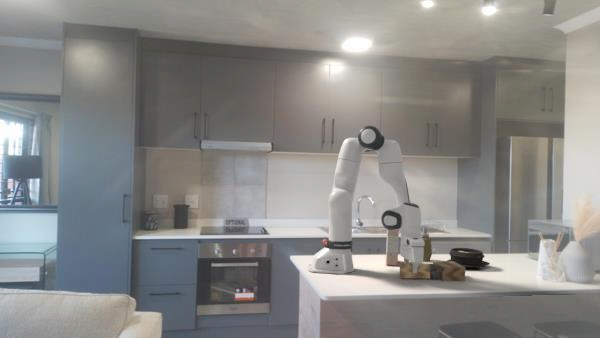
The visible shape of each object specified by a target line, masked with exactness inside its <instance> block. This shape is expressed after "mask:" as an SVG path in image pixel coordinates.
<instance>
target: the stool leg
mask: <svg viewBox="0 0 600 338" xmlns="http://www.w3.org/2000/svg"><path fill="white" fill-rule="evenodd" d="M412 268H413V263H412V262H409V263H405V262H401V263H399V278H400V279H430V269H432V270H437V264H433V263H422V264H418V268H417V273H413V272H412Z"/></svg>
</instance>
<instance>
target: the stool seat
mask: <svg viewBox="0 0 600 338" xmlns="http://www.w3.org/2000/svg"><path fill="white" fill-rule="evenodd" d="M432 264H437V270H432V269H430V278H429V279H430V280H434V281H437V280H439V281H440V280H441V281H442V282H445V281H446V282H447V281H449V282H451V281H452V282H455V281H456V282H457V281H458V282H465V281H466V269H465V267H464V266H462V265H460V264H458V263H456V262H453V261H447V260H445V261H444V260H443V261H440V260H439V261H438V260H435V261H434V260H433V261H432Z"/></svg>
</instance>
